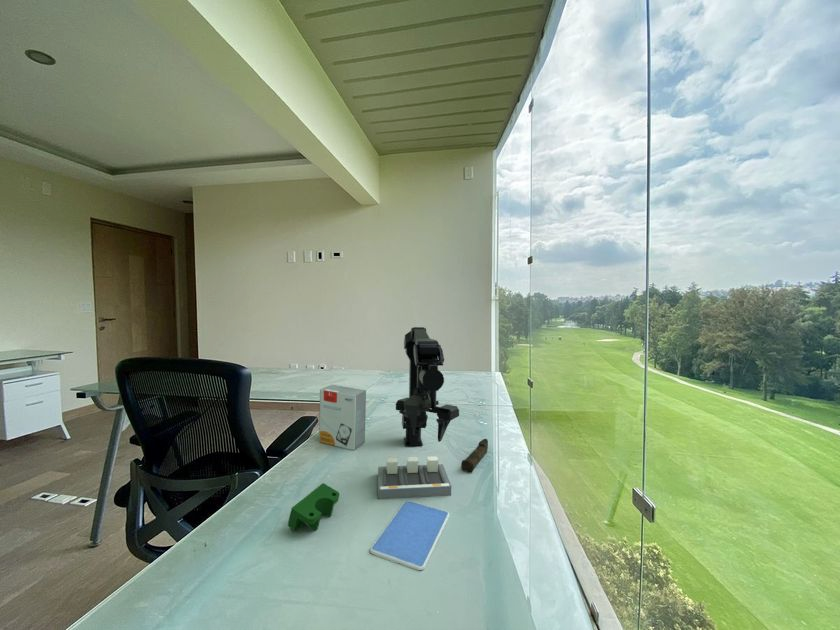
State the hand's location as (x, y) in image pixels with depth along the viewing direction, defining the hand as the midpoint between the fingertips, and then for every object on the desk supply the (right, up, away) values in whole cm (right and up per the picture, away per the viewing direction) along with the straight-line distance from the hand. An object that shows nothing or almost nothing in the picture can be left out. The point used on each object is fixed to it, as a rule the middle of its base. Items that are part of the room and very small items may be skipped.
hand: (425, 438), depth 96 cm
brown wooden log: (+17, -14, +16) cm, 27 cm away
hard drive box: (-30, -12, +26) cm, 42 cm away
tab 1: (-10, -11, +2) cm, 15 cm away
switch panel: (-4, -14, 0) cm, 14 cm away
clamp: (-27, -14, -16) cm, 34 cm away
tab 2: (-4, -11, +3) cm, 12 cm away
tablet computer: (-3, -16, -19) cm, 25 cm away
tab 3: (+2, -11, +3) cm, 11 cm away
